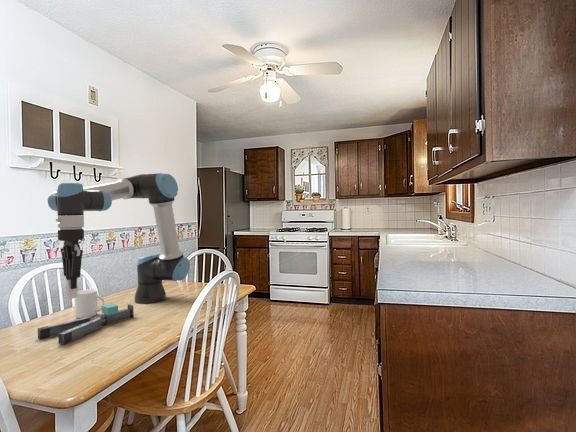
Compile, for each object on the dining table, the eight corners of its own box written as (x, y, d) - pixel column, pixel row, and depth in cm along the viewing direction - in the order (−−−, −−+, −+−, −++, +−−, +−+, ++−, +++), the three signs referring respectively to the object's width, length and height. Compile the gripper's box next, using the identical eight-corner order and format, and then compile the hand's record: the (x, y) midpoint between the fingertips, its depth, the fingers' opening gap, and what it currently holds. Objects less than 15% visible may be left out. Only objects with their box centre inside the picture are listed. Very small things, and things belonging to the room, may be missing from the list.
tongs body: (127, 315, 151) (127, 303, 150) (134, 317, 147) (134, 305, 147) (37, 337, 125) (37, 323, 125) (43, 341, 121) (43, 327, 121)
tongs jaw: (96, 326, 135) (96, 318, 135) (102, 327, 134) (102, 318, 134) (58, 343, 118) (58, 333, 118) (64, 344, 118) (64, 334, 118)
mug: (98, 318, 147) (98, 293, 147) (70, 318, 147) (70, 294, 147) (109, 312, 155) (108, 288, 155) (82, 312, 155) (82, 289, 155)
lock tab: (111, 310, 145) (111, 303, 144) (118, 312, 141) (118, 305, 141) (101, 312, 141) (101, 305, 141) (108, 315, 138) (108, 307, 138)
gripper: (51, 228, 117) (52, 297, 117) (65, 229, 108) (67, 303, 109) (75, 227, 122) (77, 293, 123) (90, 228, 114) (92, 298, 115)
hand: (72, 297), depth 116 cm, fingers closed
